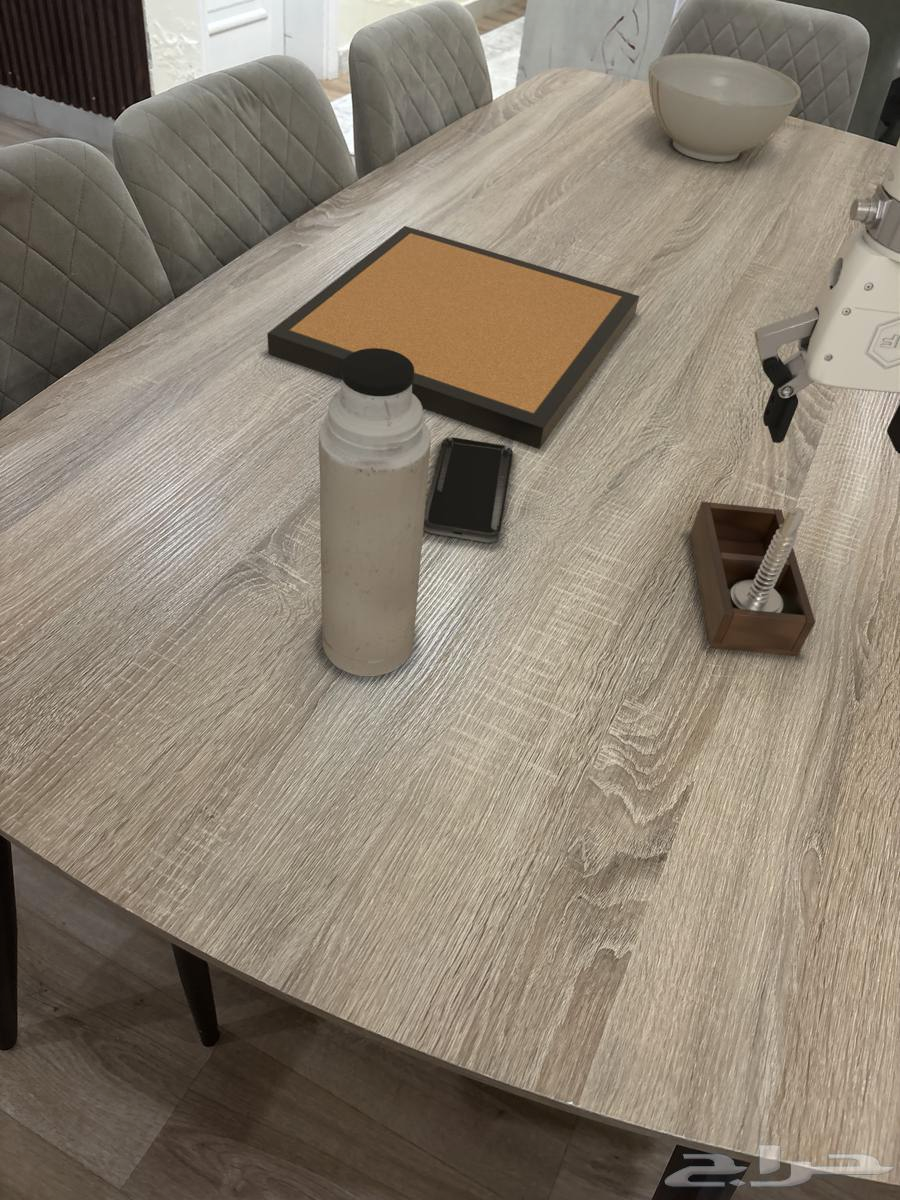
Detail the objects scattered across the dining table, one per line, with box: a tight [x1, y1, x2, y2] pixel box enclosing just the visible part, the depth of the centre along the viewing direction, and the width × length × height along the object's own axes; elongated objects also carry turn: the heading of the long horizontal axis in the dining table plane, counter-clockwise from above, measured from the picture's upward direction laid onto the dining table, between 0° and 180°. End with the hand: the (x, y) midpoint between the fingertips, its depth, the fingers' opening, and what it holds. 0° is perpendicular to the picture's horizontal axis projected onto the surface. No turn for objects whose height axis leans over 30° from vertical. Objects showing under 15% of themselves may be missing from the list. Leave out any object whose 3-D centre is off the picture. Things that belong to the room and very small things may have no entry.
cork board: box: [266, 225, 640, 450], centre depth 120 cm, size 36×3×35 cm
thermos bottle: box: [318, 348, 432, 677], centre depth 73 cm, size 8×8×28 cm
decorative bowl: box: [648, 52, 802, 163], centre depth 170 cm, size 27×27×12 cm
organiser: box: [689, 501, 816, 657], centre depth 90 cm, size 8×15×5 cm, turn 177°
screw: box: [730, 507, 805, 613], centre depth 83 cm, size 13×5×5 cm
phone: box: [423, 436, 514, 544], centre depth 98 cm, size 8×1×15 cm
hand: (834, 438), depth 74 cm, fingers open, 9 cm apart
